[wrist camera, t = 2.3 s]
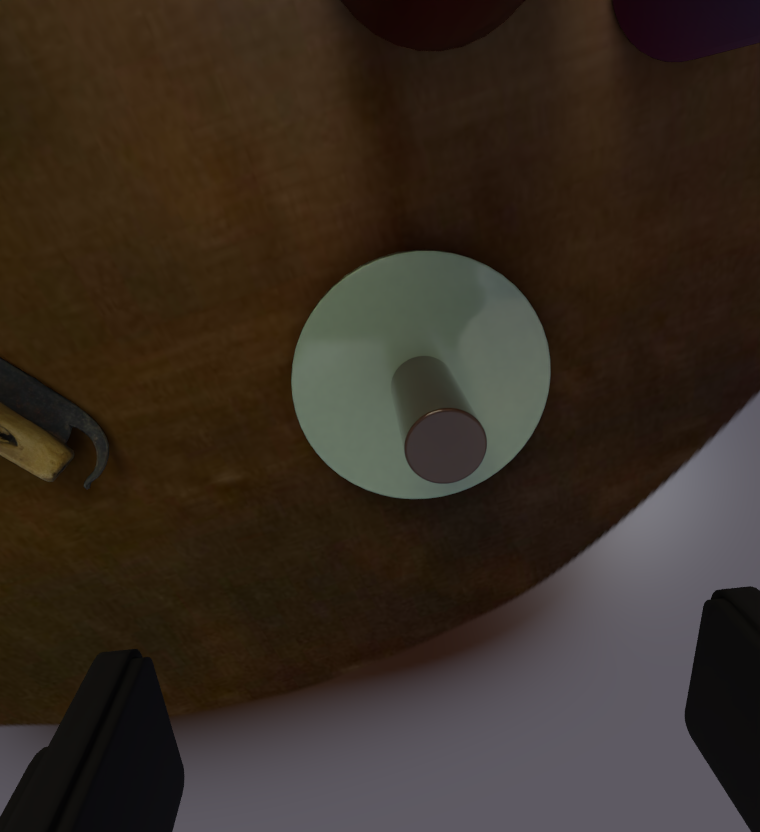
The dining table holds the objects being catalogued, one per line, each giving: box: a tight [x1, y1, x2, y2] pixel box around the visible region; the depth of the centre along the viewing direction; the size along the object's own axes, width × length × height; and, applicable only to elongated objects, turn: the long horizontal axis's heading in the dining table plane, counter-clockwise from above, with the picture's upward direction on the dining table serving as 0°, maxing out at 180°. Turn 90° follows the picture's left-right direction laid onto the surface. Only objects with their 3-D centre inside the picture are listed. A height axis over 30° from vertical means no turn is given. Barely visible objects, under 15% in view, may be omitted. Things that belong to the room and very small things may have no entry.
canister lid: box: [291, 250, 551, 499], centre depth 19 cm, size 10×10×7 cm
